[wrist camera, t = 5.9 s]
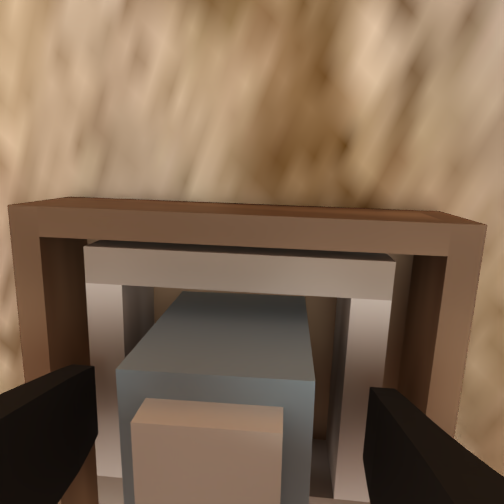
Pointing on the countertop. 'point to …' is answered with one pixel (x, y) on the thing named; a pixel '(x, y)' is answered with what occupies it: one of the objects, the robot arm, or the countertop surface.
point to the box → (253, 282)
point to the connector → (219, 403)
